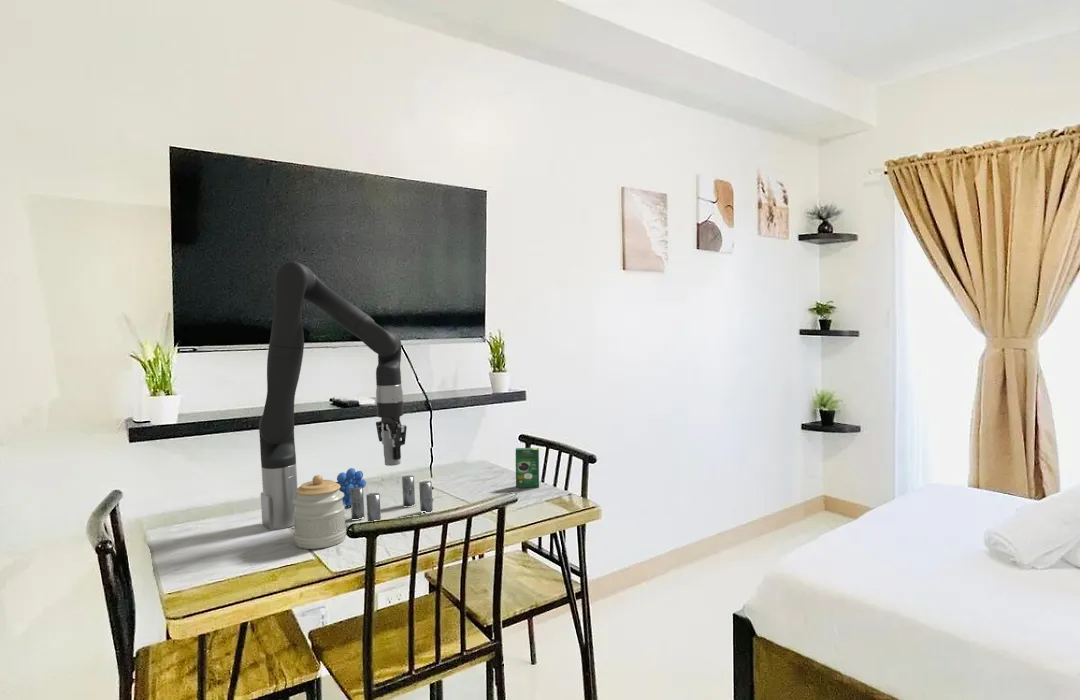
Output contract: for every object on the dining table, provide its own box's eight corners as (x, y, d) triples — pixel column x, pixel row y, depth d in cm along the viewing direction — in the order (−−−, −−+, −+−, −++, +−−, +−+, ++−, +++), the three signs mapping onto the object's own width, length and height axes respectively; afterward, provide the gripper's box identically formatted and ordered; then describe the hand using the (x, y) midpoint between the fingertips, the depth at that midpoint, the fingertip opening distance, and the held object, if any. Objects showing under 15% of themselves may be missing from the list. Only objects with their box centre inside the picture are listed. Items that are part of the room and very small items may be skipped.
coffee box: (540, 485, 218) (539, 447, 217) (540, 487, 215) (538, 448, 214) (516, 485, 218) (515, 447, 218) (515, 488, 215) (514, 449, 215)
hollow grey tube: (388, 466, 185) (386, 431, 185) (382, 464, 189) (380, 429, 188) (403, 464, 188) (401, 429, 188) (396, 461, 192) (395, 427, 191)
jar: (351, 543, 168) (348, 476, 167) (299, 553, 162) (295, 484, 161) (340, 529, 179) (337, 466, 178) (291, 538, 173) (287, 474, 172)
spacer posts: (371, 529, 178) (370, 497, 178) (349, 518, 188) (348, 488, 188) (435, 512, 192) (433, 482, 192) (411, 503, 202) (410, 474, 202)
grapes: (360, 500, 207) (358, 463, 207) (370, 504, 202) (368, 466, 202) (325, 508, 200) (323, 470, 199) (334, 513, 195) (332, 473, 194)
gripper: (366, 399, 190) (368, 456, 191) (390, 403, 180) (393, 464, 181) (388, 396, 195) (391, 452, 196) (413, 400, 185) (416, 459, 186)
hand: (392, 457), depth 188 cm, fingers closed on hollow grey tube, 4 cm apart
